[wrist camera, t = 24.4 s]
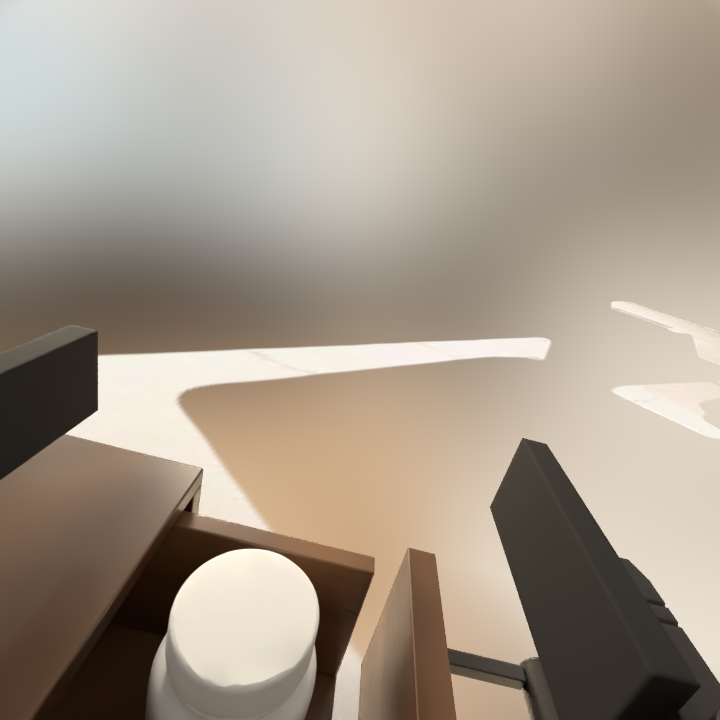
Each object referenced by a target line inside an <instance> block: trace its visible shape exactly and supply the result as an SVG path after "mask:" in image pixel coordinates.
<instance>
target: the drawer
mask: <svg viewBox="0 0 720 720" xmlns="http://www.w3.org/2000/svg"><path fill="white" fill-rule="evenodd" d="M241 549H261V550H267V551H271V552H274V553H277V554H280V555H282V556H284V557H286V558H287V559H289V560H290V561H292V562H293V563H294V564H296V565H297V566H298V567H299V568H300V569H301V570H302V571H303V572H304V573H305V574H306V575H307V577H308V578H309V580H310V581H311V583H312V585H313V587H314V589H315V592H316V595H317V598H318V604H319V626H318V631H317V635H316V639H315V643H314V645H315V651H316V663H317V667H316V678H315V685H314V690H313V694H312V698H311V701H310V704H309V708H308V711H307V714H306V717H305V720H332V712H333V703H334V694H335V685H336V676H337V673H338V670H339V668H340V665H341V662H342V660H343V657H344V654H345V651H346V649H347V646H348V643H349V641H350V638H351V635H352V632H353V629H354V627H355V624H356V622H357V618H358V616H359V613H360V611H361V608H362V605H363V603H364V600H365V597H366V594H367V591H368V589H369V586H370V584H371V581H372V578H373V575H374V566H375V559H374V557H371V556H367V555H363V554H358V553H355V552H351V551H347V550H343V549H338V548H334V547H330V546H326V545H322V544H318V543H314V542H310V541H306V540H301V539H298V538H293V537H289V536H285V535H281V534H277V533H273V532H269V531H265V530H261V529H257V528H252V527H248V526H244V525H240V524H236V523H232V522H228V521H224V520H220V519H216V518H212V517H207V516H203V515H199V514H195V513H191V512H187V511H183V512H182V513H181V515H180V516H179V518H178V519H177V521H176V522H175V524H174V525H173V527H172V529H171V530H170V532H169V533H168V535H167V536H166V538H165V539H164V541H163V542H162V544H161V545H160V547H159V548H158V550H157V551H156V553H155V554H154V556H153V557H152V559H151V560H150V562H149V563H148V565H147V566H146V568H145V569H144V571H143V573H142V574H141V576H140V577H139V579H138V580H137V582H136V583H135V585H134V586H133V588H132V589H131V591H130V592H129V594H128V595H127V597H126V598H125V600H124V601H123V603H122V604H121V606H120V607H119V609H118V610H117V612H116V613H115V615H114V617H113V618H112V620H111V621H110V623H109V624H108V626H107V627H106V629H105V630H104V632H103V633H102V635H101V636H100V638H99V639H98V641H97V642H96V644H95V645H94V647H93V648H92V650H91V651H90V653H89V654H88V656H87V658H86V659H85V661H84V662H83V664H82V665H81V667H80V668H79V670H78V671H77V673H76V674H75V676H74V677H73V679H72V680H71V682H70V683H69V685H68V686H67V688H66V689H65V691H64V692H63V694H62V695H61V697H60V698H59V700H58V702H57V703H56V705H55V706H54V708H53V709H52V711H51V712H50V714H49V715H48V717H47V718H46V720H145V711H146V699H147V688H148V681H149V676H150V671H151V667H152V663H153V660H154V657H155V655H156V653H157V650H158V648H159V646H160V644H161V642H162V640H163V638H164V637H165V635H166V633H167V630H168V623H169V617H170V612H171V609H172V605H173V603H174V600H175V598H176V596H177V594H178V592H179V590H180V589H181V587H182V585H183V584H184V583H185V581H186V580H187V579H188V578H189V576H190V575H191V574H192V573H193V572H194V571H195V570H197V569H198V568H199V567H200V566H201V565H203V564H204V563H206V562H208V561H209V560H211V559H213V558H215V557H217V556H219V555H221V554H224V553H227V552H230V551H234V550H241ZM451 674H455V675H460V676H464V677H469V678H472V679H477V680H481V681H485V682H489V683H493V684H498V685H502V686H506V687H510V688H515V689H520V690H521V689H522V691H523V694H524V698H525V701H526V705H527V709H528V713H529V716H530V720H559V717H558V714H557V711H556V708H555V705H554V702H553V699H552V696H551V693H550V690H549V687H548V684H547V681H546V678H545V674H544V671H543V668H542V665H541V662H540V659H539V657H533V658H529V659H526V660H524V661H523V662H521V663H520V664H519V665H515V664H511V663H508V662H503V661H499V660H495V659H491V658H487V657H482V656H478V655H474V654H470V653H466V652H461V651H457V650H453V649H449V648H447V643H446V635H445V628H444V620H443V612H442V605H441V597H440V589H439V582H438V574H437V567H436V558H435V554H432V553H428V552H424V551H420V550H416V549H412V548H408V549H407V551H406V554H405V556H404V559H403V561H402V564H401V567H400V569H399V571H398V574H397V576H396V579H395V581H394V584H393V586H392V589H391V591H390V594H389V596H388V599H387V601H386V604H385V606H384V609H383V612H382V614H381V616H380V619H379V621H378V624H377V626H376V629H375V631H374V634H373V636H372V639H371V641H370V644H369V647H368V649H367V651H366V654H365V656H364V659H363V661H362V664H361V680H360V697H359V714H358V720H456V712H455V704H454V697H453V689H452V682H451Z"/></svg>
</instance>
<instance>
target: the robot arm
mask: <svg viewBox="0 0 720 720" xmlns="http://www.w3.org/2000/svg"><path fill="white" fill-rule="evenodd" d="M97 410H98V331H96V330H92V329H89V328H84V327H80V326H77V325H69V326H67V327H64V328H62V329H59V330H57V331H54V332H51V333H49V334H46V335H44V336H41V337H39V338H36V339H34V340H31V341H28V342H26V343H24V344H21V345H18V346H16V347H13V348H11V349H8V350H6V351H3V352H1V353H0V480H1V479H3V478H4V477H6V476H7V475H8V474H10V473H11V472H13V471H14V470H15V469H17V468H18V467H20V466H21V465H22V464H24V463H25V462H26V461H28V460H29V459H31V458H32V457H33V456H35V455H36V454H38V453H39V452H40V451H42V450H43V449H44V448H46V447H47V446H49V445H50V444H51V443H53V442H54V441H56V440H57V439H58V438H60V437H61V436H62V435H64V434H65V433H67V432H68V431H69V430H71V429H72V428H74V427H75V426H76V425H78V424H79V423H81V422H82V421H83V420H85V419H86V418H87V417H89V416H90V415H92V414H93V413H94V412H96V411H97ZM490 508H491V512H492V515H493V518H494V521H495V524H496V527H497V530H498V533H499V536H500V539H501V542H502V545H503V548H504V551H505V554H506V557H507V561H508V564H509V567H510V570H511V573H512V576H513V579H514V582H515V585H516V588H517V591H518V594H519V598H520V600H521V604H522V607H523V610H524V613H525V616H526V619H527V622H528V625H529V628H530V631H531V634H532V638H533V640H534V644H535V647H536V650H537V652H538V656H539V659H540V662H541V665H542V668H543V671H544V674H545V678H546V681H547V684H548V687H549V690H550V693H551V696H552V699H553V702H554V705H555V708H556V711H557V714H558V717H559V720H720V683H719V682H718V681H717V679H716V678H715V676H714V675H713V673H712V672H711V671H710V669H709V667H708V666H707V664H706V663H705V661H704V660H703V658H702V657H701V656H700V654H699V653H698V651H697V650H696V648H695V647H694V645H693V644H692V642H691V641H690V639H689V638H688V636H687V635H686V634H685V632H684V631H683V629H682V628H680V627H678V622H677V620H676V619H675V617H674V616H673V614H672V613H671V612H670V610H669V609H668V608H666V607H665V603H664V601H663V600H662V598H661V597H660V595H659V594H658V592H657V591H656V590H655V588H654V587H653V585H652V584H651V582H650V581H649V580H648V579H647V578H646V577H645V576H644V575H643V574H642V573H641V572H640V571H639V570H638V569H637V568H636V567H635V566H634V565H633V564H632V563H631V562H630V561H629V560H627V559H623V558H619V557H618V555H617V554H616V552H615V550H614V549H613V547H612V546H611V544H610V543H609V541H608V539H607V538H606V536H605V535H604V533H603V532H602V530H601V529H600V527H599V525H598V524H597V522H596V521H595V519H594V518H593V516H592V514H591V513H590V511H589V510H588V508H587V507H586V505H585V504H584V502H583V500H582V499H581V497H580V496H579V494H578V493H577V491H576V489H575V488H574V486H573V485H572V483H571V482H570V480H569V478H568V477H567V476H566V474H565V472H564V471H563V469H562V468H561V466H560V464H559V463H558V461H557V460H556V458H555V457H554V455H553V453H552V452H551V451H550V449H549V447H548V446H547V444H543V443H540V442H536V441H532V440H528V439H524V438H522V440H521V442H520V445H519V447H518V449H517V451H516V453H515V455H514V458H513V459H512V462H511V464H510V466H509V468H508V470H507V472H506V474H505V477H504V478H503V481H502V483H501V485H500V487H499V489H498V491H497V493H496V495H495V498H494V500H493V502H492V504H491V506H490Z"/></svg>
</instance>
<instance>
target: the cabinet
mask: <svg viewBox="0 0 720 720" xmlns="http://www.w3.org/2000/svg"><path fill="white" fill-rule="evenodd" d="M202 476H203V469H202V468H199V467H195V466H191V465H187V464H183V463H179V462H175V461H171V460H167V459H163V458H159V457H155V456H151V455H147V454H143V453H139V452H135V451H130V450H126V449H122V448H118V447H114V446H110V445H106V444H102V443H98V442H94V441H90V440H86V439H82V438H78V437H74V436H70V435H66V434H64V435H62V436H61V437H60V438H58V439H57V440H56V441H54V442H53V443H51V444H50V445H49V446H47V447H46V448H44V449H43V450H42V451H40V452H39V453H38V454H36V455H35V456H33V457H32V458H31V459H29V460H28V461H26V462H25V463H24V464H22V465H21V466H20V467H18V468H17V469H15V470H14V471H13V472H11V473H10V474H8V475H7V476H6V477H4V478H3V479H1V480H0V720H46V718H47V717H48V715H49V714H50V712H51V711H52V709H53V708H54V706H55V705H56V703H57V702H58V700H59V698H60V697H61V695H62V694H63V692H64V691H65V689H66V688H67V686H68V685H69V683H70V682H71V680H72V679H73V677H74V676H75V674H76V673H77V671H78V670H79V668H80V667H81V665H82V664H83V662H84V661H85V659H86V658H87V656H88V654H89V653H90V651H91V650H92V648H93V647H94V645H95V644H96V642H97V641H98V639H99V638H100V636H101V635H102V633H103V632H104V630H105V629H106V627H107V626H108V624H109V623H110V621H111V620H112V618H113V617H114V615H115V613H116V612H117V610H118V609H119V607H120V606H121V604H122V603H123V601H124V600H125V598H126V597H127V595H128V594H129V592H130V591H131V589H132V588H133V586H134V585H135V583H136V582H137V580H138V579H139V577H140V576H141V574H142V573H143V571H144V569H145V568H146V566H147V565H148V563H149V562H150V560H151V559H152V557H153V556H154V554H155V553H156V551H157V550H158V548H159V547H160V545H161V544H162V542H163V541H164V539H165V538H166V536H167V535H168V533H169V532H170V530H171V529H172V527H173V525H174V524H175V522H176V521H177V519H178V518H179V516H180V515H181V513H182V512H183V511H187V512H191V513H195V514H198V509H199V501H200V493H201V483H202Z"/></svg>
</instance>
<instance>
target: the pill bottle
mask: <svg viewBox="0 0 720 720" xmlns="http://www.w3.org/2000/svg"><path fill="white" fill-rule="evenodd" d="M318 626H319V604H318V598H317V595H316V592H315V589H314V587H313V585H312V583H311V581H310V580H309V578H308V577H307V575H306V574H305V573H304V572H303V571H302V570H301V569H300V568H299V567H298V566H297V565H296V564H294V563H293V562H292V561H290V560H289V559H287V558H286V557H284V556H282V555H280V554H277V553H274V552H271V551H267V550H261V549H241V550H234V551H230V552H227V553H224V554H221V555H219V556H217V557H215V558H213V559H211V560H209V561H208V562H206V563H204V564H203V565H201V566H200V567H199V568H198V569H197V570H195V571H194V572H193V573H192V574H191V575H190V576H189V578H188V579H187V580H186V581H185V583H184V584H183V585H182V587H181V589H180V590H179V592H178V594H177V596H176V598H175V600H174V603H173V605H172V609H171V612H170V617H169V623H168V630H167V633H166V635H165V637H164V638H163V640H162V642H161V644H160V646H159V648H158V650H157V653H156V655H155V657H154V660H153V663H152V667H151V671H150V676H149V681H148V688H147V699H146V711H145V720H305V717H306V714H307V711H308V708H309V704H310V701H311V698H312V694H313V690H314V685H315V678H316V667H317V663H316V651H315V645H314V643H315V639H316V635H317V631H318Z"/></svg>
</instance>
